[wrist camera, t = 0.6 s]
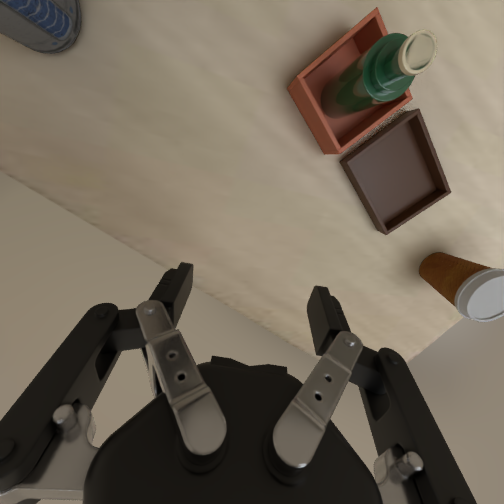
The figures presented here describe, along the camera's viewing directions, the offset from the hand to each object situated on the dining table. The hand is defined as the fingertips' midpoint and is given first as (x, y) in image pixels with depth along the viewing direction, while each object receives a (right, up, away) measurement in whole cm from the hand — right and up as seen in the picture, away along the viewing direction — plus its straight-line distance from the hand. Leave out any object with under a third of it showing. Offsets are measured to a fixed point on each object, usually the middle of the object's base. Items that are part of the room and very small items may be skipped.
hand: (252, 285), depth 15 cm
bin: (+13, +25, +20) cm, 35 cm away
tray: (+24, +15, +25) cm, 38 cm away
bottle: (+13, +25, +20) cm, 34 cm away
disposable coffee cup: (+37, -1, +33) cm, 50 cm away
